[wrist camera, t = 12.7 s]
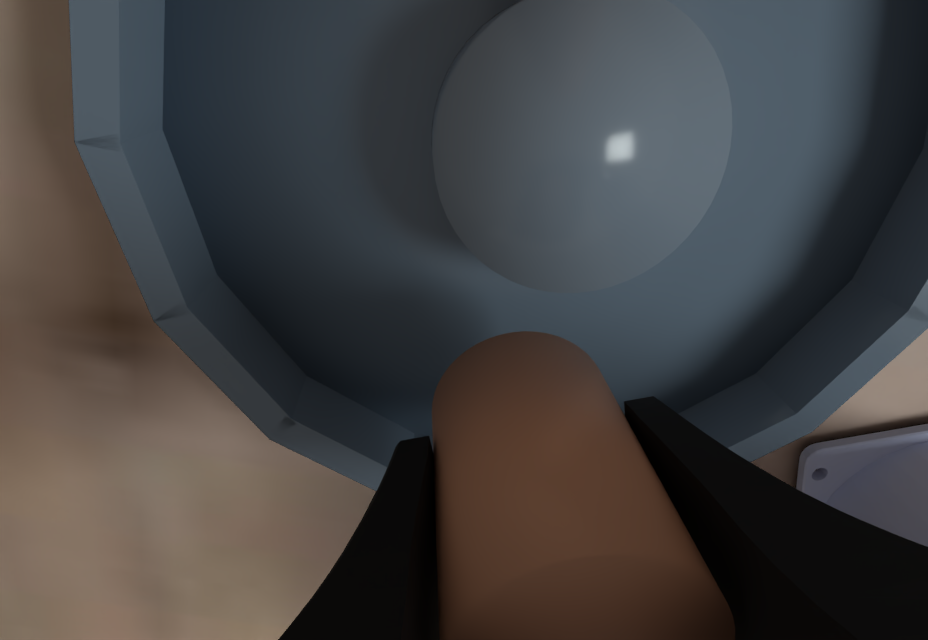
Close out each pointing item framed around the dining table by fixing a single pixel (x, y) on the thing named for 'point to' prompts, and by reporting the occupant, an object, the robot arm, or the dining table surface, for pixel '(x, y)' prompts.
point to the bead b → (556, 508)
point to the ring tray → (515, 199)
